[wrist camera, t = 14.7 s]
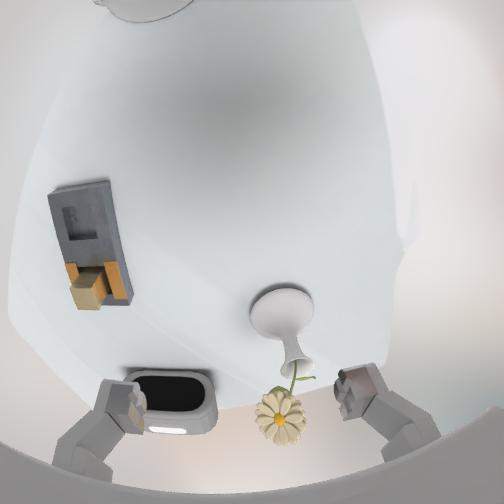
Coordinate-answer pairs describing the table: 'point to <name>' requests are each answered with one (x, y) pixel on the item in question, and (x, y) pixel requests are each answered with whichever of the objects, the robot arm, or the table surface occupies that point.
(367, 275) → the table surface
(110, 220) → the rail
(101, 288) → the brass block
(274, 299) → the flower in vase
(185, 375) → the alarm clock
